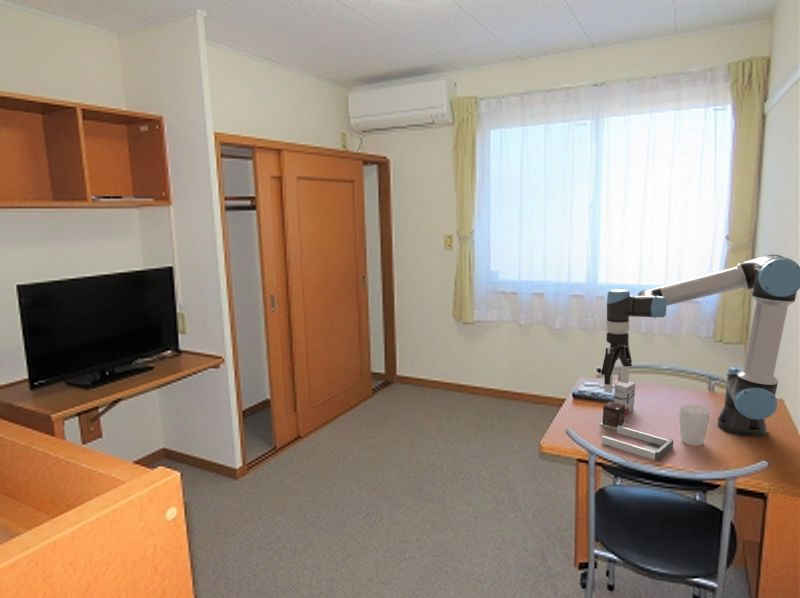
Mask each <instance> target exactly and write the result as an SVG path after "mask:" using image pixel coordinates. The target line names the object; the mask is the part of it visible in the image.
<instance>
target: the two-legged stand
mask: <svg viewBox="0 0 800 598" xmlns="http://www.w3.org/2000/svg"><path fill="white" fill-rule="evenodd" d="M616 433H617V434H620V435H623V436H627V437H629V438H630V437H631V438H634V439H637V440H639V441H640V440H641V441H644V442H647V443H648V444H647V445H645V446H644V447H641V446H639V445H635V444H631V443H628V442H625V441H622V440H619V439H616V438H612V437H609V436H605V435H602V436H601V444H602V445H606V446H609V447H613V448H615V449H617V450H618V449H619V450H621V451H625V452H628V453H631V454H634V455H637V456H641V457H643V458H646V457H647V458H646V459H649V458H651V459H650V460H652V459H655V460H654V461H656V460H659V459H660V458H661V459H662V458H664V457H665V456H666V455H667V454H668V453H669V452H671V450H673V449H674V439H672V438H670V439H667V438H664V437H660V436H656V435H653V434H650V433H646V432H643V431H640V430H635V429H633V428H632V429H631V428H628V427H626V426H624V427H622V426H619V425H618V426H617V430H616ZM668 451H669V452H668ZM667 452H668V453H667ZM666 453H667V454H666ZM665 454H666V455H665ZM661 459H660V460H661ZM660 460H659V461H660Z"/></svg>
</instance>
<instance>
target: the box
mask: <svg viewBox="0 0 800 598" xmlns="http://www.w3.org/2000/svg"><path fill="white" fill-rule="evenodd" d="M602 409H603V410H602V422H603V424H605V425H609V426H613V427H616V428H617V426H618V425H619V426H621V425H622V424H623V423H625V415H624V414H625V405H623V404H618V403H614V401H608V402H607V403H606V404H604V405H603V407H602Z"/></svg>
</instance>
